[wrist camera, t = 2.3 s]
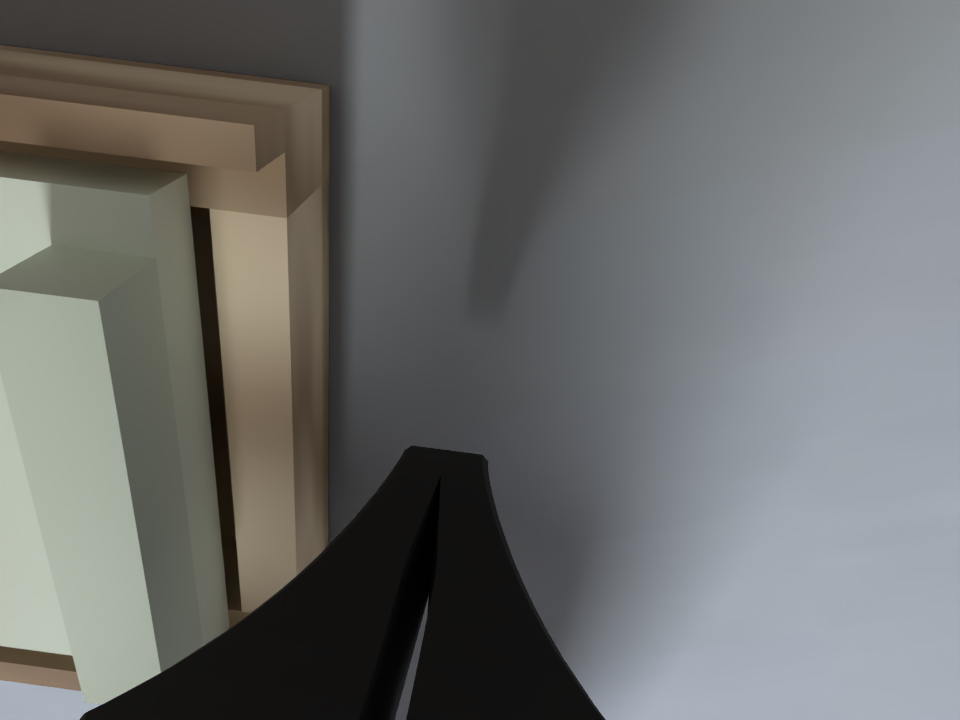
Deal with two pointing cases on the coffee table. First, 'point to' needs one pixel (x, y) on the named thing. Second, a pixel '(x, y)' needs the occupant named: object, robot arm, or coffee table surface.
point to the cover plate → (104, 423)
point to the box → (218, 281)
